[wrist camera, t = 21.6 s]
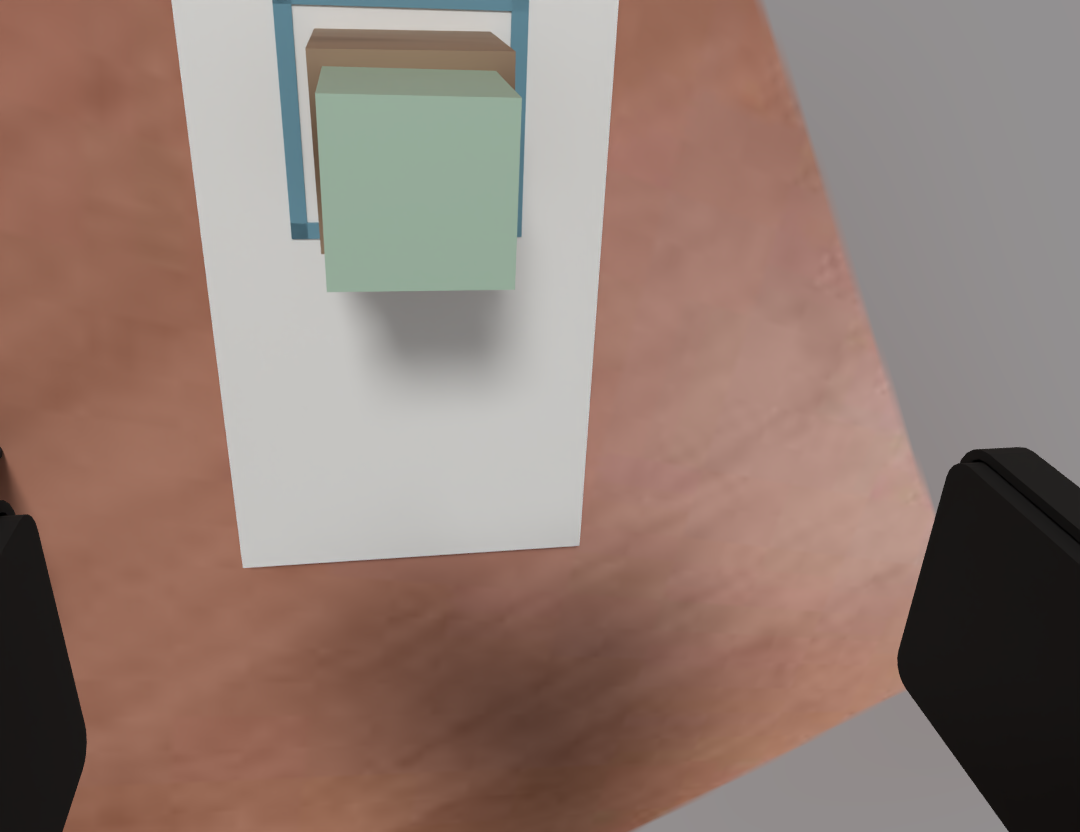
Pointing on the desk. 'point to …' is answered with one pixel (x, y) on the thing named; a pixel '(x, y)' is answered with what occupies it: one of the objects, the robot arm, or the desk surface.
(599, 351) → the desk surface
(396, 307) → the building board
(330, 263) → the sage cube
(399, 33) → the walnut block
